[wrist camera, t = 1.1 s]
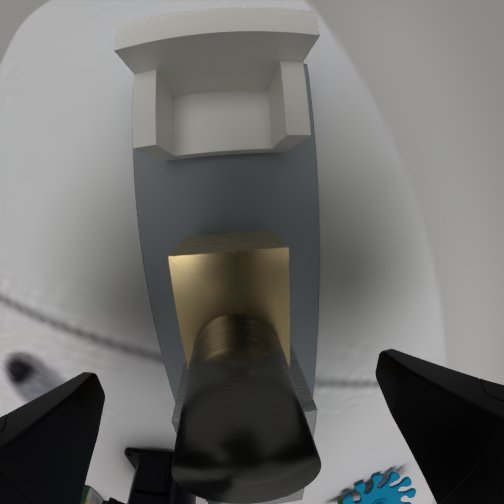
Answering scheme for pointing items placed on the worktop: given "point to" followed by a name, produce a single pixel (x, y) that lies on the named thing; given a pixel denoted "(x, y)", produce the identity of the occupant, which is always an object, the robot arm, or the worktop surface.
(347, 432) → the worktop surface
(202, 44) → the socket
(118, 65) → the worktop surface
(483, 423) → the robot arm
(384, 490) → the gear
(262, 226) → the board
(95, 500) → the crayon box
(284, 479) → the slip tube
